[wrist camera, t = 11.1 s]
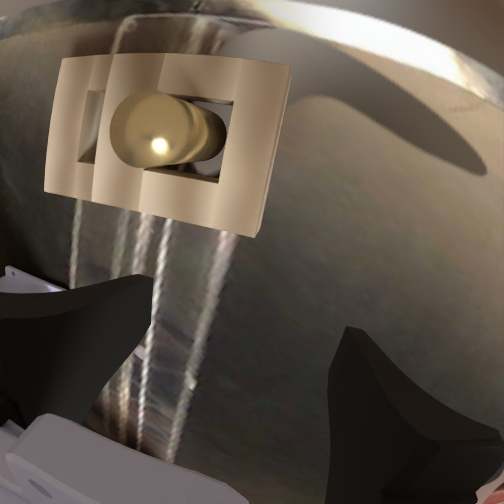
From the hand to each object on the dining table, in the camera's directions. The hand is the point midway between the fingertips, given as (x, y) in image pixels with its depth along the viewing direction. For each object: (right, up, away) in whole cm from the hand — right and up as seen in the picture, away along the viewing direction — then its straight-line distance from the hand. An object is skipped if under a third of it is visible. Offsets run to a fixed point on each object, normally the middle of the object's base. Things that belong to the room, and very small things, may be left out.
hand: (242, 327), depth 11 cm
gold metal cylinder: (-3, +10, +8) cm, 13 cm away
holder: (-6, +11, +9) cm, 15 cm away
